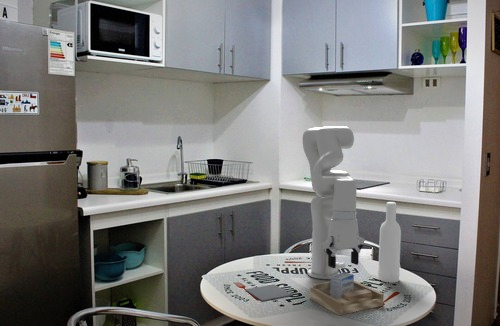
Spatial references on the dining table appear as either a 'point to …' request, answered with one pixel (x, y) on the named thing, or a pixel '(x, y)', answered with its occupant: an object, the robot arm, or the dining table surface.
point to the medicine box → (341, 284)
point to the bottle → (389, 246)
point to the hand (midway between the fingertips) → (343, 265)
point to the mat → (268, 292)
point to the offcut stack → (356, 297)
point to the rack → (322, 297)
